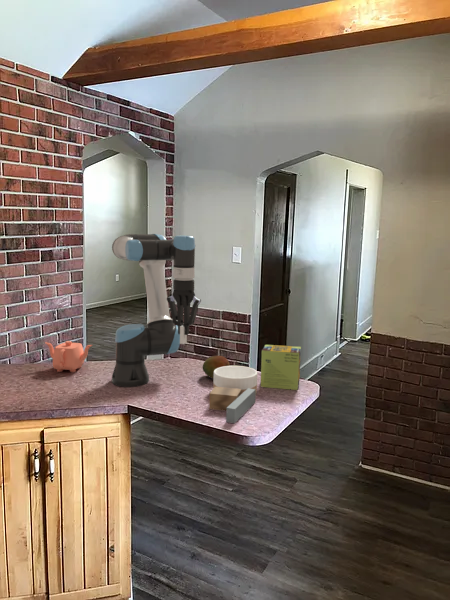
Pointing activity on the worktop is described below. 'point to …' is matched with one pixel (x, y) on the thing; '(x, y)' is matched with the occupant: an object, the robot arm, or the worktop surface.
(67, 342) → the teapot
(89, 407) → the worktop surface
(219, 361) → the fruit
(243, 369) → the bowl
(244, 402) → the grey long rectangular bar
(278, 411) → the worktop surface
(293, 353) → the protein box
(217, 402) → the walnut block
